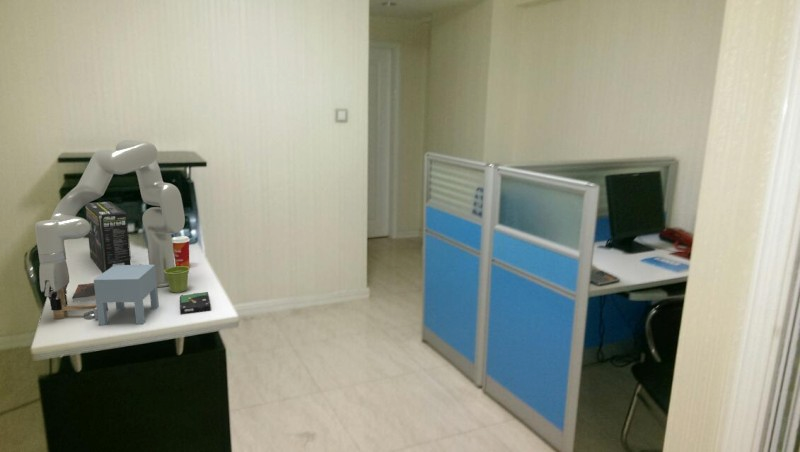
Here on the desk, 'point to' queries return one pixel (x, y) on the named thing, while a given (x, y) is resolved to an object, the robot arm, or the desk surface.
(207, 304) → the disk drive
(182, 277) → the plant pot
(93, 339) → the desk surface
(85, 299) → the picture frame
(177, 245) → the paper cup
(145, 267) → the blue-grey small table
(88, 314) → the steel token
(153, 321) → the desk surface
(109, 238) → the router box
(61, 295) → the wooden mallet
